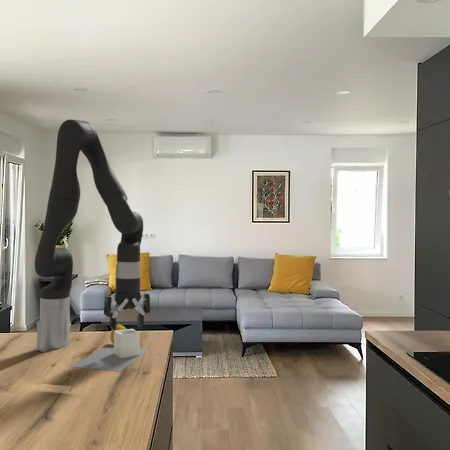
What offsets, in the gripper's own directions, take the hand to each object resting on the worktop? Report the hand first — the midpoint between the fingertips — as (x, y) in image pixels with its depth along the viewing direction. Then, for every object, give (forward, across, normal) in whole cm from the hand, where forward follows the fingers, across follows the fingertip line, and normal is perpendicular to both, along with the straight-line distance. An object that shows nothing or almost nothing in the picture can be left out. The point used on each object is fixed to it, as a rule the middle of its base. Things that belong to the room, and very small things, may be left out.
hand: (127, 328), depth 154 cm
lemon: (+10, +3, +13) cm, 17 cm away
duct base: (+9, -6, -2) cm, 11 cm away
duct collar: (+8, 0, -1) cm, 8 cm away
